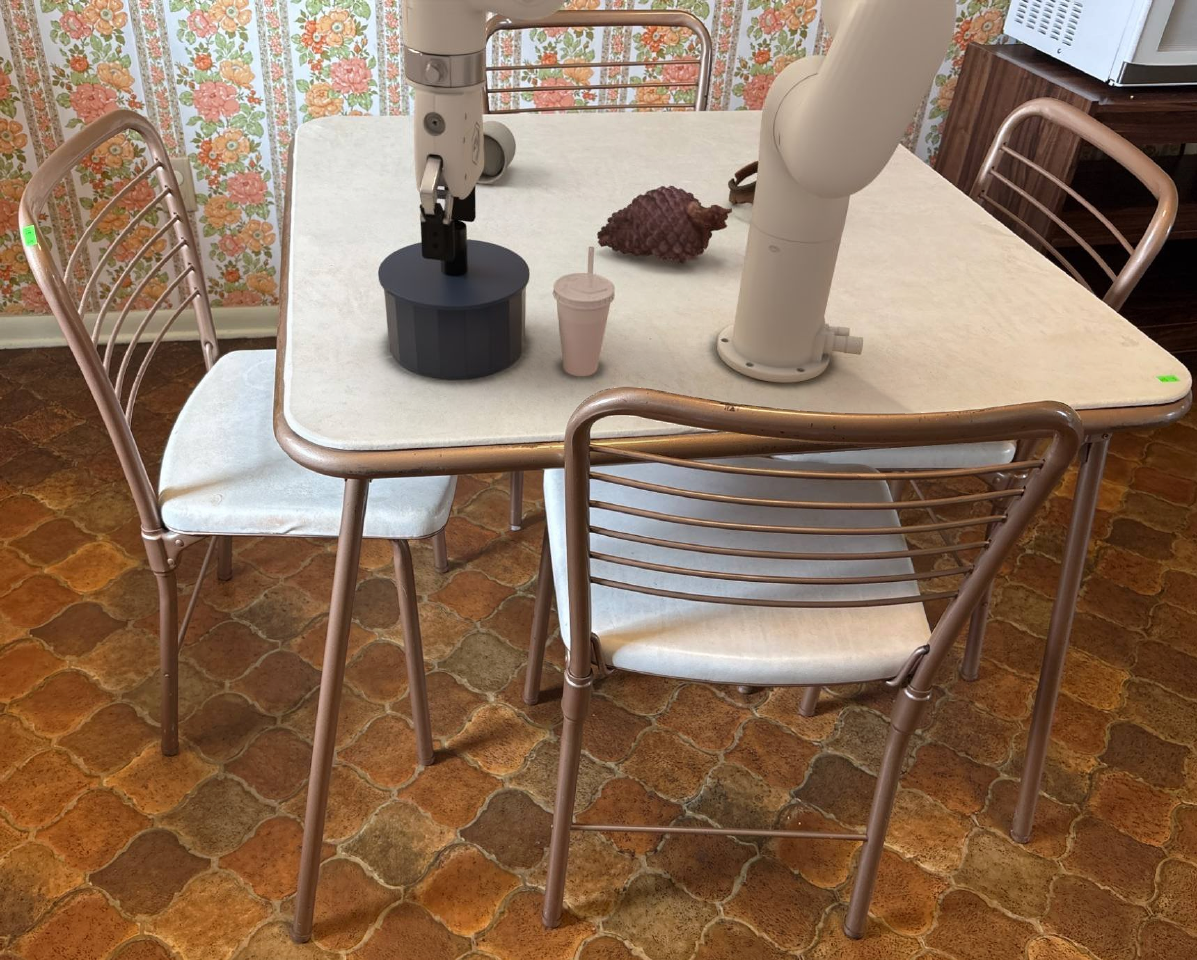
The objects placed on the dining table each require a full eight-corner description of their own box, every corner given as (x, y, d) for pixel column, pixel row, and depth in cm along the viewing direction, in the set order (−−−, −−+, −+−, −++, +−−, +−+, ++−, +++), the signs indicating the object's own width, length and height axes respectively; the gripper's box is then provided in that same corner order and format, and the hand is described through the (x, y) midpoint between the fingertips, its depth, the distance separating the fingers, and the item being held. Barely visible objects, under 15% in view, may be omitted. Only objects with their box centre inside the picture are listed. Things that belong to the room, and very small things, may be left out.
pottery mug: (791, 233, 140) (770, 183, 135) (733, 245, 145) (711, 197, 141) (816, 186, 146) (797, 136, 142) (760, 198, 152) (739, 151, 147)
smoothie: (603, 387, 104) (611, 265, 96) (544, 377, 105) (547, 256, 97) (614, 356, 109) (623, 238, 101) (558, 348, 110) (562, 230, 102)
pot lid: (540, 255, 111) (541, 203, 107) (515, 323, 98) (515, 266, 94) (401, 241, 111) (398, 189, 108) (359, 307, 99) (353, 250, 95)
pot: (534, 319, 115) (535, 251, 110) (511, 387, 103) (510, 315, 98) (409, 306, 116) (404, 238, 111) (372, 373, 104) (365, 300, 99)
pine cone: (597, 273, 125) (585, 193, 124) (609, 278, 135) (598, 204, 134) (736, 249, 122) (726, 167, 121) (739, 256, 132) (729, 180, 131)
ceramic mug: (518, 167, 153) (517, 116, 148) (507, 187, 146) (506, 134, 141) (451, 161, 153) (448, 111, 149) (437, 180, 147) (434, 128, 142)
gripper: (465, 97, 84) (467, 280, 95) (503, 45, 98) (501, 210, 109) (378, 88, 85) (390, 271, 95) (428, 38, 98) (434, 202, 109)
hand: (449, 238), depth 102 cm, fingers open, 9 cm apart
